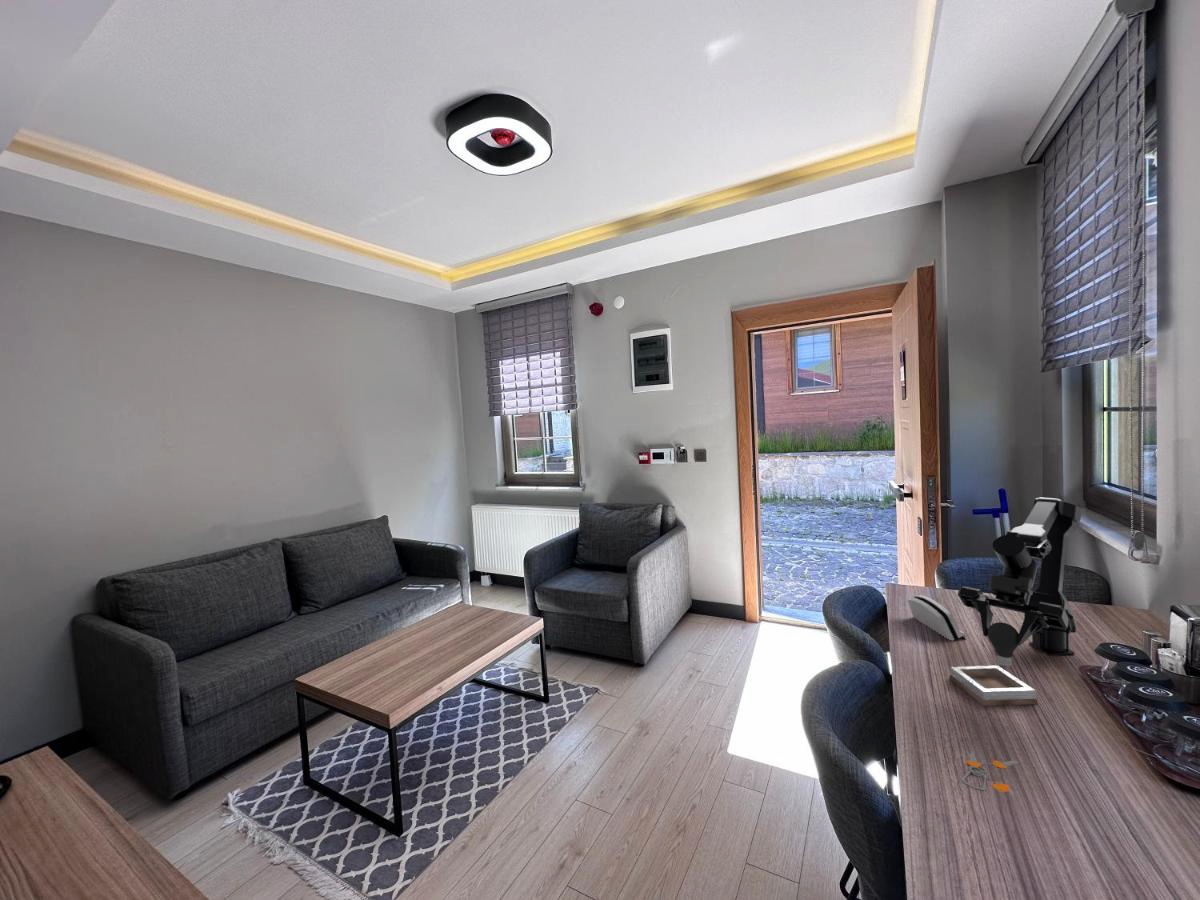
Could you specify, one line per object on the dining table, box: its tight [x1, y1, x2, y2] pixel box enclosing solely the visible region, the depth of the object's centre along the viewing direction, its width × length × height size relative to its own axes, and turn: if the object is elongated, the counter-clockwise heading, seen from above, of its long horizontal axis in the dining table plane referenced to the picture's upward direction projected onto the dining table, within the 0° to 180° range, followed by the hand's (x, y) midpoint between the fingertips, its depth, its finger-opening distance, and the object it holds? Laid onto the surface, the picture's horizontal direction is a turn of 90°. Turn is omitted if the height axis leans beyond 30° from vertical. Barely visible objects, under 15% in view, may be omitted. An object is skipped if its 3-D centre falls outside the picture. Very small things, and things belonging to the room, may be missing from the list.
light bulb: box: [987, 621, 1019, 669], centre depth 108 cm, size 6×6×10 cm
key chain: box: [961, 752, 1019, 793], centre depth 87 cm, size 13×7×1 cm, turn 131°
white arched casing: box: [907, 594, 968, 641], centre depth 144 cm, size 17×5×10 cm, turn 179°
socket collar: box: [950, 664, 1036, 701], centre depth 111 cm, size 11×11×2 cm
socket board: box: [949, 674, 1038, 707], centre depth 111 cm, size 11×11×1 cm
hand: (1001, 639), depth 108 cm, fingers closed on light bulb, 6 cm apart
